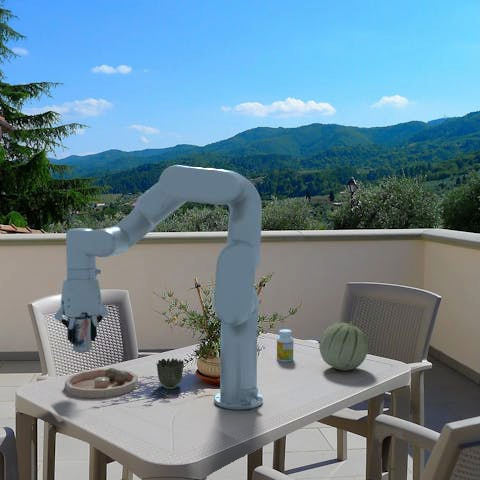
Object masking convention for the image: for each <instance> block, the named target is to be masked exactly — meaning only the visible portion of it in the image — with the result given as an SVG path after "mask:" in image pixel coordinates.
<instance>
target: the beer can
mask: <svg viewBox="0 0 480 480" xmlns="http://www.w3.org/2000/svg"><path fill="white" fill-rule="evenodd" d="M87 312H88V311H83V312H81V315H80V316H79V317H77V318H75V321H74V325H73V326H74V329H75V344H72V349H73V351H74V352H76V353H80V354H81V353H87V352H89V351H91V350H92V341H91V316H89V315H88V313H87Z"/></svg>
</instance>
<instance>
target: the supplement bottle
mask: <svg viewBox="0 0 480 480" xmlns="http://www.w3.org/2000/svg"><path fill="white" fill-rule="evenodd" d="M278 335H279V336H278V337H277V338H276V360H277V361H279V362H282V363H289V362H290V363H291V362H293V361H294V337H292V330H291V329H285V328H284V329H283V328H282V329H280V330H278Z"/></svg>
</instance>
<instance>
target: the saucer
mask: <svg viewBox="0 0 480 480" xmlns="http://www.w3.org/2000/svg"><path fill="white" fill-rule="evenodd" d="M108 369H109V368H100V369H99V368H97V369H91V370H85V371H81V372H78V373H76V374H72V375H70V376H68V378H67V379H65V381H64V390H65V391H66V392H67V393H68V394H69V395H70V396H73V397H74V396H75V397H79V398H85V399H87V398H88V399H96V398H97V399H100V398H103V399H105V398H110V397H116V396H121V395H125V394H128V393H129V392H131V391H133V390H136V387H137V386H138V383H139V381H138V380H139V379H138V377H139V376H138V375H137V374H135V373H133V371H130V370H125V369H120V368H119V369H118V368H115V369H116V370H117V372H119V371H124V372H125V373H126V374H127V381H126V382H125V383H124V384H118V383H116V382H115V380H113V381H109V378H108V377H105V372H106V371H107V370H108Z"/></svg>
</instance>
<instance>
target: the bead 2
mask: <svg viewBox="0 0 480 480" xmlns="http://www.w3.org/2000/svg"><path fill="white" fill-rule="evenodd" d="M114 379H115V382H116V383H118V384H124V383H125V382H126V381H127V374H126V373H125V372H124V371H119V372H117V373H116V374H115V376H114Z"/></svg>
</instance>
